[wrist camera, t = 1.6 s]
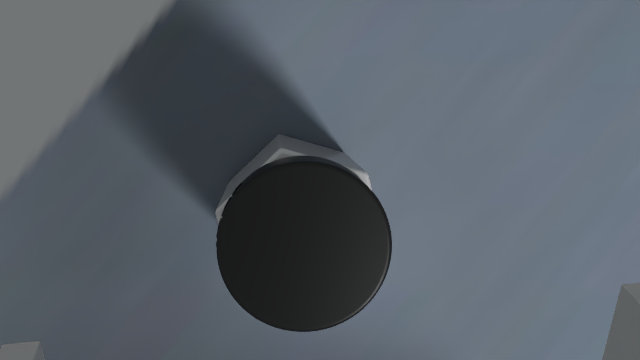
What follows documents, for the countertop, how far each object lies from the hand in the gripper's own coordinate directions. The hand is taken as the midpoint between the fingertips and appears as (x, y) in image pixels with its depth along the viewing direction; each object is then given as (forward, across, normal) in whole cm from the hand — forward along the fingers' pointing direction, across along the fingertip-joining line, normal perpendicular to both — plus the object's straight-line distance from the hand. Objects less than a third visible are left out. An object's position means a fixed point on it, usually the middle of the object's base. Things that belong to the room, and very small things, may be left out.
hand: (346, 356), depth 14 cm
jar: (+24, -1, +9) cm, 26 cm away
